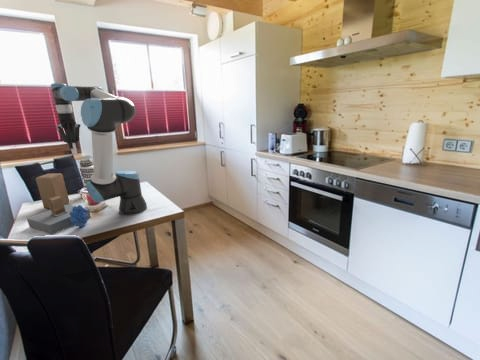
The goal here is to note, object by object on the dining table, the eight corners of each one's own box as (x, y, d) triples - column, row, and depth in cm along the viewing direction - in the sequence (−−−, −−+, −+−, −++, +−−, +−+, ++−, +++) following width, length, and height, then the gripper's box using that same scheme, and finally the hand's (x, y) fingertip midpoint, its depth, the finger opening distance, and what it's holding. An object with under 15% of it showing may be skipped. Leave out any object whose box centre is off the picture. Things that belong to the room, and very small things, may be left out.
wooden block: (70, 202, 164) (62, 172, 158) (58, 208, 154) (49, 177, 148) (56, 202, 165) (48, 173, 159) (43, 208, 155) (34, 177, 149)
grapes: (82, 232, 124) (77, 209, 120) (69, 232, 124) (63, 210, 121) (96, 221, 135) (91, 200, 131) (84, 221, 135) (78, 200, 132)
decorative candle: (82, 195, 176) (74, 160, 169) (94, 191, 184) (86, 157, 177) (92, 196, 173) (83, 161, 165) (103, 192, 181) (96, 158, 174)
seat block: (90, 217, 140) (88, 209, 139) (52, 234, 123) (49, 225, 122) (68, 212, 149) (66, 204, 147) (29, 227, 131) (26, 218, 130)
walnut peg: (68, 221, 137) (62, 196, 133) (59, 224, 133) (52, 200, 129) (63, 219, 139) (56, 195, 135) (54, 223, 135) (47, 198, 131)
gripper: (72, 112, 150) (81, 151, 157) (48, 113, 139) (59, 155, 146) (80, 112, 147) (89, 152, 154) (57, 113, 136) (67, 156, 143)
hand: (74, 153), depth 150 cm, fingers closed
